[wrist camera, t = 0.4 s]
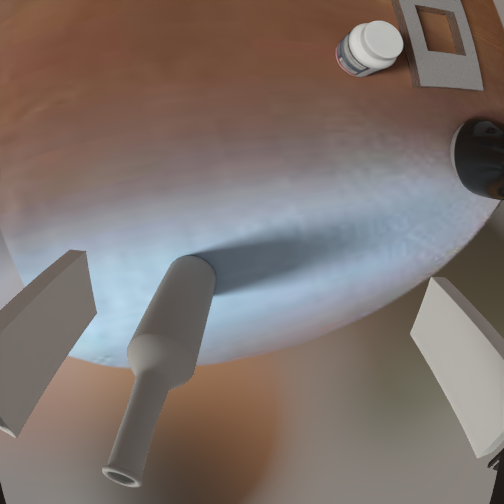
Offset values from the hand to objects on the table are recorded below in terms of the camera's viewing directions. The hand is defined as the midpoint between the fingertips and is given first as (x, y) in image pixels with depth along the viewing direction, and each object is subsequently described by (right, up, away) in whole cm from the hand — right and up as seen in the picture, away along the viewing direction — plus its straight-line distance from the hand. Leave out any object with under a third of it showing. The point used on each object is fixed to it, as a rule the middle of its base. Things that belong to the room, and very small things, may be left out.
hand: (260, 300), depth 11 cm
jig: (+23, +33, +14) cm, 42 cm away
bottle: (-8, -2, +29) cm, 30 cm away
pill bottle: (+12, +24, +18) cm, 32 cm away
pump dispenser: (+29, +15, +21) cm, 39 cm away
